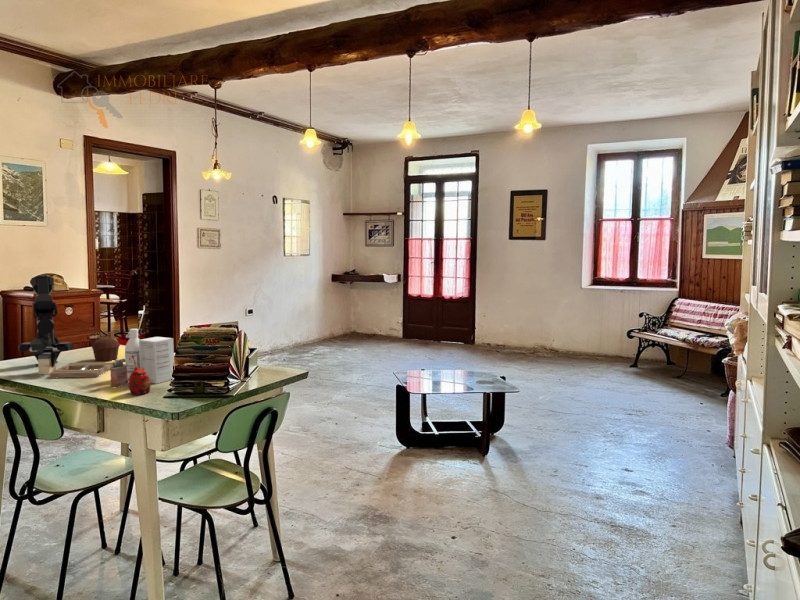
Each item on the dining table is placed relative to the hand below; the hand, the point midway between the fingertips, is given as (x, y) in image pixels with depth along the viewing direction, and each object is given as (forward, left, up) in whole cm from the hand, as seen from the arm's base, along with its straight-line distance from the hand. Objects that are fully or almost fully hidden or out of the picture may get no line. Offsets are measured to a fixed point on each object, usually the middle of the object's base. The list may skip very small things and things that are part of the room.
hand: (47, 366), depth 227 cm
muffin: (-25, +14, -3) cm, 29 cm away
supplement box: (+16, +48, -3) cm, 51 cm away
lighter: (+23, +36, -3) cm, 43 cm away
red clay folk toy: (+35, +47, -3) cm, 59 cm away
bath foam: (+11, +38, -3) cm, 40 cm away
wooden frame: (0, +14, -2) cm, 14 cm away
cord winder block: (0, 0, -2) cm, 2 cm away
